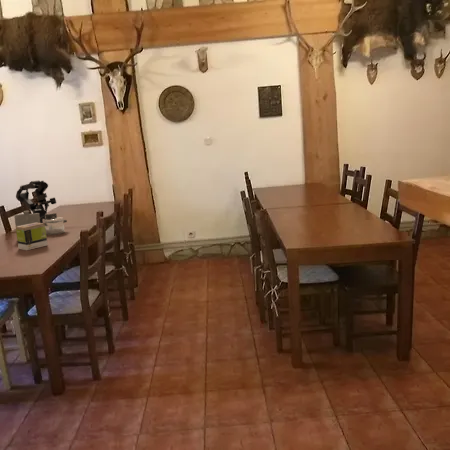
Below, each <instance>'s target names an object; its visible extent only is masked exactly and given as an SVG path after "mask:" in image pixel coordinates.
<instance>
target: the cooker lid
mask: <svg viewBox="0 0 450 450" xmlns="http://www.w3.org/2000/svg"><path fill="white" fill-rule="evenodd" d="M62 220H65V219H64V217H63V216H62V217H61V216H59V217H58V216H57V213H55V212H54V213H47V214H46V215H45V219H43V223H44V222H57V221H62Z"/></svg>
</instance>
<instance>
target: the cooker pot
mask: <svg viewBox="0 0 450 450" xmlns="http://www.w3.org/2000/svg"><path fill="white" fill-rule="evenodd" d="M43 223H44V224H45V229H46V236H50V235H51V236H54V235H61V234H65V232H66V231H65V223H68V220H67V219H64V220H62V221H57V222H44V221H43Z"/></svg>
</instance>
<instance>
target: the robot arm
mask: <svg viewBox="0 0 450 450" xmlns="http://www.w3.org/2000/svg"><path fill="white" fill-rule="evenodd" d="M48 187H49V184H48V183H47V182H46V181H44V180H41V181H40V180H32V181H30V182H28V183H27V184H21V185H19V189H18V190H17V191H16V195H15V199H16V200H17V201H19V202H20V203H23V204H25V206H26V207H27V208H28V209H29V211H31V212H32V214H34V213H39V216H40V223H44V219H45V215H46V214H48V209H49V208H48V207H50V205H56V204H57V200H56V197H50V198H49V200H47V199H46V198H48V196H47V192H46V191H47V189H48ZM31 189H32V190H34V192H33V193H34V194H35V196H36V200H37V203H35V202H33V201H32V200H31V199H30V198H29V194H30V192H29V190H31Z"/></svg>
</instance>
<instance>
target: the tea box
mask: <svg viewBox="0 0 450 450" xmlns="http://www.w3.org/2000/svg"><path fill="white" fill-rule="evenodd" d="M15 232H16V233H17V234H16V239H17V240H18V241H17V245H18V246H17V247H18V249H19V250H21V251H22V250H23V251H30V250H34V249H37V248H42V247H46V246H48V245H49V244H48V235H47V234H46V229H45V224H44V222H43V223H37V222H36V223H31V224H26V225H21V226H17V227H16V226H15Z"/></svg>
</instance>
